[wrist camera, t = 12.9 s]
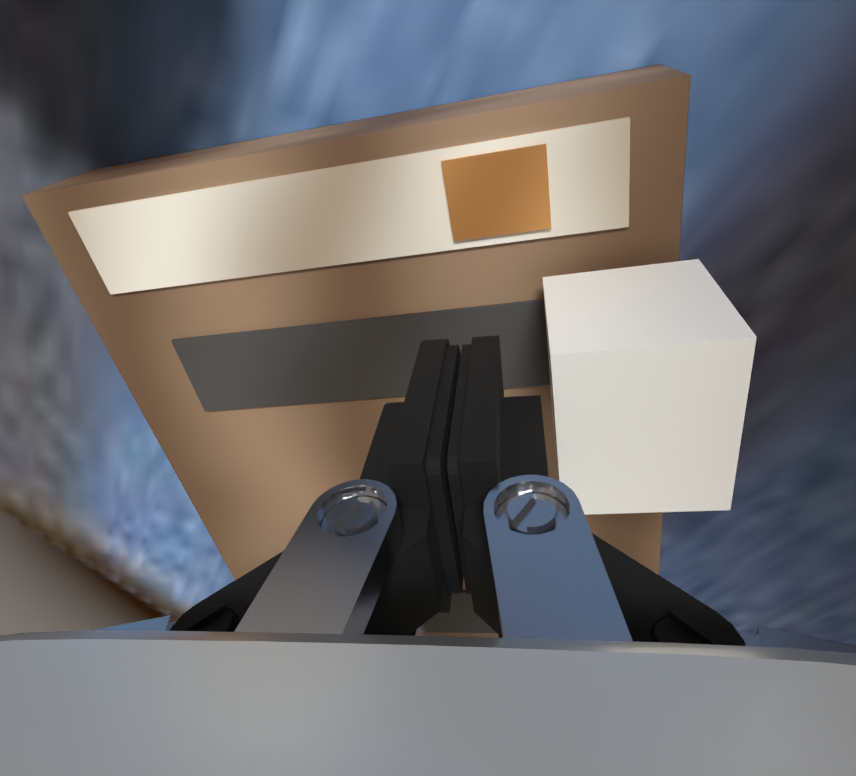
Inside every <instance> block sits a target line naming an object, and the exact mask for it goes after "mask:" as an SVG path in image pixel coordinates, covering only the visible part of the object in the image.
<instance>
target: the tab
mask: <svg viewBox="0 0 856 776" xmlns="http://www.w3.org/2000/svg"><path fill="white" fill-rule="evenodd" d="M543 290H544V304H545V317H546V331H547V344H548V358H549V371H550V385H551V398H552V412H553V424H554V435H555V445H556V456H557V467H558V478H559V481H561V482H563V483H564V484H566V485H567V486H568V487H569V488H571V489H572V490H573V491H574V493H575V494H576V496H577V498H578V499H579V501H580V504H581V506H582V509H583V512H584V514H585V515H587V514H620V513H653V512H686V511H719V510H730V509H731V502H732V496H733V489H734V483H735V476H736V470H737V463H738V456H739V450H740V443H741V437H742V430H743V423H744V417H745V410H746V404H747V397H748V391H749V384H750V377H751V371H752V364H753V358H754V351H755V345H756V338H757V337H756V335H755V334H754V333H753V331H752V330H751V329H750V327H749V326H748V325H747V323H746V322H745V321H744V319H743V318H742V317H741V315H740V314H739V313H738V311H737V310H736V309H735V307H734V306H733V305H732V303H731V302H730V300H729V299H728V298H727V296H726V295H725V294H724V292H723V291H722V290H721V288H720V287H719V286H718V284H717V283H716V282H715V280H714V279H713V278H712V276H711V275H710V274H709V272H708V271H707V270H706V268H705V267H704V266H703V264H702V263H701V261H700V260H699V259H694V260H685V261H677V262H668V263H659V264H651V265H642V266H634V267H625V268H616V269H608V270H599V271H591V272H582V273H574V274H565V275H556V276H548V277H543Z"/></svg>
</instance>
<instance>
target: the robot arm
mask: <svg viewBox="0 0 856 776" xmlns="http://www.w3.org/2000/svg"><path fill="white" fill-rule="evenodd" d="M463 579H464V582H465V589H466V593H467V594H471V595H472V602H473V609H474V612H475V613H476V614H477V615H478V616H479V617H480V618H481V619H482V620H483V621H484V622H485V623H487V624H488V625H489V626H490V627H491V628H492V629H493V630H494V631H495V632H496V633H497V634H498V638H489V637H448V636H425V632H426V629H425V625H424V623H426V622H427V621H428V620H429V619H431V618H432V617H433V616H434V615H436V614H437V613H450V607H451V597H452V594H461V593H462V590H463ZM0 776H856V645H851V644H846V643H841V642H836V641H831V640H826V639H821V638H816V637H811V636H806V635H801V634H796V633H791V632H786V631H781V630H776V629H771V628H766V627H761V626H758V629H757V633H756V634H754V633H749V632H744V631H739V630H736V629H735V628H734V626H733V625H732V624H731V623H730V622H728V621H727V620H726V619H725V618H723V617H722V616H721V615H720V614H718V613H717V612H716V611H714V610H713V609H711V608H710V607H708V606H706V605H705V604H703V603H702V602H700V601H699V600H697V599H695V598H694V597H692V596H691V595H689V594H688V593H686V592H684V591H683V590H681V589H680V588H678V587H676V586H675V585H673V584H672V583H670V582H669V581H667V580H665V579H664V578H662V577H661V576H659V575H658V574H656V573H654V572H653V571H651V570H650V569H648V568H647V567H645V566H643V565H642V564H640V563H639V562H637V561H635V560H634V559H632V558H631V557H629V556H628V555H626V554H624V553H623V552H621V551H620V550H618V549H617V548H615V547H613V546H612V545H610V544H609V543H607V542H606V541H604V540H602V539H601V538H599V537H598V536H596V535H594V534H593V533H591V530H590V527H589V525H588V522H587V519H586V517H585V514H584V512H583V509H582V506H581V504H580V501H579V499H578V498H577V496H576V494H575V493H574V491H573V490H572V489H571V488H569V487H568V486H567V485H566V484H564V483H563V482H561V481H558V480H556V479H554V478H551V477H549V476H548V466H547V456H546V446H545V436H544V426H543V416H542V406H541V396H540V395H534V396H515V397H504V388H503V376H502V363H501V351H500V340H499V335H495V336H481V337H472V342H471V344H466V345H462V349H461V354H460V348H459V345H450V343H449V340H448V339H435V340H422V341H421V343H420V346H419V350H418V354H417V357H416V361H415V364H414V368H413V372H412V375H411V379H410V382H409V386H408V389H407V393H406V397H405V400H404V402H393V403H386V404H385V405H384V407H383V410H382V413H381V416H380V419H379V422H378V425H377V428H376V431H375V434H374V437H373V440H372V443H371V446H370V449H369V452H368V455H367V458H366V461H365V464H364V467H363V470H362V473H361V476H360V479H357V480H351V481H347V482H343V483H340V484H338V485H336V486H334V487H332V488H330V489H328V490H327V491H326V492H324V493H323V494H322V495H320V496H319V497H318V498H317V500H316V501H315V502H314V503H313V504H312V506H311V507H310V509H309V511H308V512H307V514H306V515H305V517H304V519H303V520H302V522H301V524H300V525H299V527H298V528H297V530H296V532H295V533H294V535H293V537H292V538H291V540H290V541H289V543H288V545H287V546H286V548H285V550H284V551H282V552H281V553H279V554H277V555H276V556H274V557H273V558H271V559H269V560H268V561H266V562H264V563H263V564H261V565H260V566H258V567H256V568H255V569H253V570H251V571H250V572H248V573H246V574H245V575H243V576H242V577H240V578H238V579H237V580H235V581H233V582H232V583H230V584H229V585H227V586H225V587H224V588H222V589H220V590H219V591H217V592H216V593H214V594H212V595H211V596H209V597H207V598H206V599H204V600H202V601H201V602H199V603H198V604H196V605H195V606H193V607H192V608H191V609H189V610H188V611H187V612H185V613H184V614H183V615H182V616H181V617H180V618H179V619H178V620H177V622H174V621H173V619H172V618H171V616H164V617H159V618H154V619H149V620H144V621H139V622H133V623H128V624H123V625H118V626H112V627H107V628H102V629H97V630H92V631H52V632H28V633H16V634H7V635H0Z"/></svg>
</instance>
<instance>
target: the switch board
mask: <svg viewBox="0 0 856 776" xmlns="http://www.w3.org/2000/svg"><path fill="white" fill-rule="evenodd" d="M689 90H690V75H689V74H686V73H683V72H680V71H677V70H675V69H672V68H669V67H666V66H663V65H661V64H658V65H653V66H648V67H642V68H637V69H631V70H626V71H621V72H615V73H610V74H604V75H599V76H594V77H588V78H583V79H578V80H572V81H567V82H561V83H556V84H551V85H545V86H540V87H534V88H529V89H524V90H518V91H513V92H507V93H502V94H497V95H491V96H486V97H480V98H475V99H470V100H464V101H459V102H454V103H448V104H443V105H437V106H432V107H427V108H421V109H416V110H410V111H405V112H400V113H394V114H389V115H383V116H378V117H373V118H367V119H362V120H357V121H351V122H346V123H340V124H335V125H330V126H324V127H319V128H313V129H308V130H303V131H297V132H292V133H286V134H281V135H276V136H270V137H265V138H260V139H254V140H249V141H243V142H238V143H233V144H227V145H222V146H216V147H211V148H206V149H200V150H195V151H189V152H184V153H179V154H173V155H168V156H162V157H157V158H152V159H146V160H141V161H136V162H130V163H125V164H119V165H114V166H109V167H103V168H98V169H92V170H89V171H86V172H84V173H81V174H78V175H76V176H73V177H70V178H67V179H65V180H62V181H59V182H57V183H54V184H51V185H48V186H46V187H43V188H40V189H38V190H35V191H32V192H30V193H27V194H24V195H22V197H23V199H24V201H25V203H26V204H27V206H28V208H29V210H30V212H31V213H32V215H33V217H34V219H35V221H36V222H37V224H38V226H39V228H40V230H41V231H42V233H43V235H44V237H45V239H46V240H47V242H48V244H49V246H50V248H51V249H52V251H53V253H54V255H55V257H56V258H57V260H58V262H59V264H60V266H61V267H62V269H63V271H64V273H65V275H66V276H67V278H68V280H69V282H70V284H71V285H72V287H73V289H74V291H75V293H76V294H77V296H78V298H79V300H80V302H81V303H82V305H83V307H84V309H85V311H86V312H87V314H88V316H89V318H90V320H91V321H92V323H93V325H94V327H95V329H96V330H97V332H98V334H99V336H100V338H101V339H102V341H103V343H104V345H105V347H106V348H107V350H108V352H109V354H110V356H111V357H112V359H113V361H114V363H115V365H116V366H117V368H118V370H119V372H120V374H121V375H122V377H123V379H124V381H125V383H126V384H127V386H128V388H129V390H130V392H131V393H132V395H133V397H134V399H135V401H136V402H137V404H138V406H139V408H140V410H141V411H142V413H143V415H144V417H145V419H146V420H147V422H148V424H149V426H150V428H151V429H152V431H153V433H154V435H155V437H156V438H157V440H158V442H159V444H160V446H161V447H162V449H163V451H164V453H165V455H166V456H167V458H168V460H169V462H170V464H171V465H172V467H173V469H174V471H175V473H176V474H177V476H178V478H179V480H180V482H181V483H182V485H183V487H184V489H185V491H186V492H187V494H188V496H189V498H190V500H191V501H192V503H193V505H194V507H195V509H196V510H197V512H198V514H199V516H200V518H201V519H202V521H203V523H204V525H205V527H206V528H207V530H208V532H209V534H210V536H211V537H212V539H213V541H214V543H215V545H216V546H217V548H218V550H219V552H220V554H221V555H222V557H223V559H224V561H225V563H226V564H227V566H228V568H229V570H230V572H231V573H232V575H233V577H234V579H235V580H237V579H238V578H240V577H242V576H243V575H245V574H246V573H248V572H250V571H251V570H253V569H255V568H256V567H258V566H260V565H261V564H263V563H264V562H266V561H268V560H269V559H271V558H273V557H274V556H276V555H277V554H279V553H281V552H282V551H284V550H285V548H286V546H287V545H288V543H289V541H290V540H291V538H292V537H293V535H294V533H295V532H296V530H297V528H298V527H299V525H300V524H301V522H302V520H303V519H304V517H305V515H306V514H307V512H308V511H309V509H310V507H311V506H312V504H313V503H314V502H315V501H316V500H317V498H318V497H319V496H320V495H322V494H323V493H324V492H326V491H327V490H328V489H330V488H332V487H334V486H336V485H338V484H340V483H343V482H347V481H351V480H357V479H360V476H361V473H362V470H363V467H364V464H365V461H366V458H367V455H368V452H369V449H370V446H371V443H372V440H373V437H374V434H375V431H376V428H377V425H378V422H379V419H380V416H381V413H382V410H383V407H384V405H385V404H386V403H393V402H404V400H405V397H406V393H407V389H408V386H409V382H410V379H411V375H412V372H413V368H414V364H415V361H416V357H417V354H418V350H419V346H420V343H421V341H422V340H435V339H448V340H449V343H450V345H459V348H460V354H461V349H462V345H466V344H471V342H472V337H481V336H495V335H499V340H500V351H501V363H502V376H503V388H504V397H515V396H534V395H540V396H541V406H542V416H543V426H544V436H545V446H546V456H547V466H548V476H549V477H551V478H554V479H556V480H558V481H559V478H558V467H557V456H556V445H555V435H554V424H553V412H552V398H551V385H550V371H549V358H548V344H547V331H546V317H545V304H544V290H543V277H548V276H556V275H565V274H574V273H582V272H591V271H599V270H608V269H616V268H625V267H634V266H642V265H651V264H659V263H668V262H677V261H679V249H680V233H681V217H682V202H683V186H684V170H685V154H686V138H687V122H688V106H689ZM585 517H586V519H587V522H588V525H589V527H590V530H591V533H593V534H594V535H596V536H598V537H599V538H601V539H602V540H604V541H606V542H607V543H609V544H610V545H612V546H613V547H615V548H617V549H618V550H620V551H621V552H623V553H624V554H626V555H628V556H629V557H631V558H632V559H634V560H635V561H637V562H639V563H640V564H642V565H643V566H645V567H647V568H648V569H650V570H651V571H653V572H654V573H656V574H658V575H659V567H660V551H661V535H662V519H663V512H653V513H620V514H587V515H585ZM424 625H425V629H426V632H425V636H448V637H489V638H498V634H497V633H496V632H495V631H494V630H493V629H492V628H491V627H490V626H489V625H488V624H487V623H485V622H484V621H483V620H482V619H481V618H480V617H479V616H478V615H477V614H476V613H475V612H474V609H473V602H472V595H471V594H467V593H466V589H465V582H464V579H463V590H462V593H461V594H452V597H451V607H450V613H437V614H436V615H434V616H433V617H432V618H431V619H429V620H428V621H427V622H426V623H424Z"/></svg>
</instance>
